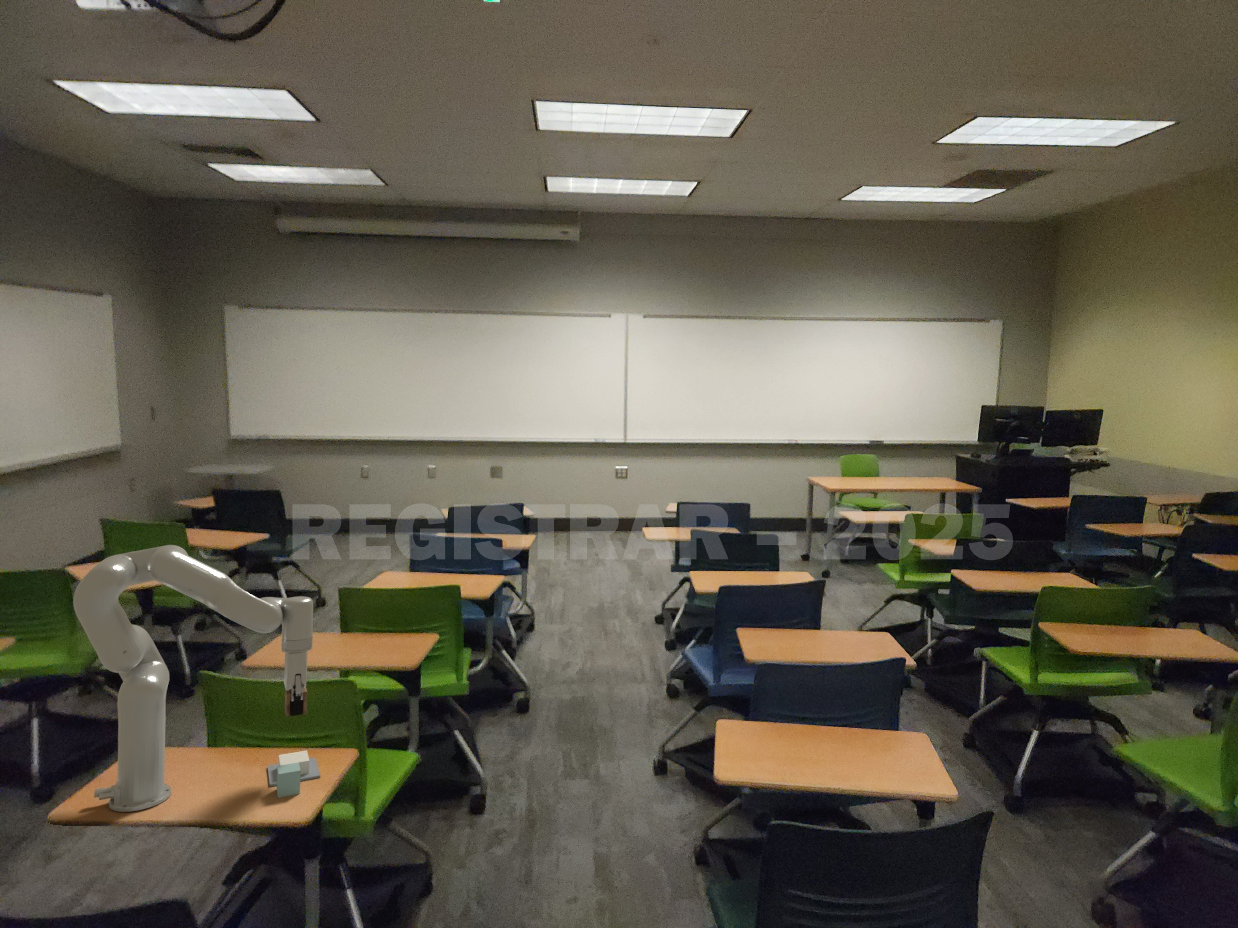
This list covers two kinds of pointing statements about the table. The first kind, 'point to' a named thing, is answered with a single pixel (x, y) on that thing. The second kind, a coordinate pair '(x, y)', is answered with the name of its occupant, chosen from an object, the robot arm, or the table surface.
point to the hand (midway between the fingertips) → (295, 710)
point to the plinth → (302, 777)
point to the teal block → (288, 780)
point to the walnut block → (288, 699)
